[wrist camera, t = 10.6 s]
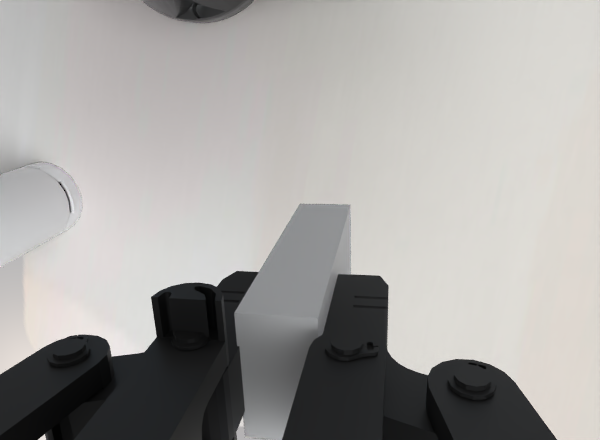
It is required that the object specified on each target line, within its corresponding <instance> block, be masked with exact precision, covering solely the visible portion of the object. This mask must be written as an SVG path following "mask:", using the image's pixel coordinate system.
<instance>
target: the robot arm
mask: <svg viewBox="0 0 600 440" xmlns="http://www.w3.org/2000/svg"><path fill="white" fill-rule="evenodd" d="M142 1H143V2H144V3H145V4H147V5H148V6H149V7H151V8H152V9H154V10H156V11H157V12H159V13H161V14H163V15H165V16H168V17H170V18H173V19H176V20H181V21H187V22H196V23H209V22H216V21H220V20H223V19H226V18H229V17H231V16H233V15H235V14H237V13H239V12H240V11H242V10H243V9H245V8H246V7H247V6H248V5H250V4H251V3H252V2H253V1H254V0H142ZM151 300H152V307H153V313H154V320H155V327H156V334H157V338H156V339H155V340H154V341H153V343H152V344H151V345H150V346H149V348H148V349H147V350H146V351H145V352H144V353H139V354H130V355H122V356H114V357H112V356H111V351H110V346H109V344H108V342H107V340H105V339H103V338H101V337H99V336H93V335H78V336H77V335H74V336H69V337H67V338H65V339H61V340H58V341H56V342H54V343H52V344H49V345H47V346H45V347H43V348H42V349H40V350H39V351H37V352H35V353H34V354H32V355H31V356H29V357H28V358H26V359H24V360H23V361H21V362H20V363H18V364H16V365H15V366H13V367H12V368H10V369H9V370H7V371H5V372H4V373H2V374H0V440H38V439H39V438H40V437H41V436H43V435H44V434H45V436H46V440H237V436H236V431H237V428H238V426H239V424H240V421H241V419H242V416H243V419H244V429H245V437H247V438H258V439H267V440H557V439H556V438H555V436H554V435H553V434H552V432H551V431H550V430H549V428H548V427H547V425H546V424H545V423H544V421H543V420H542V419H541V417H540V416H539V415H538V413H537V412H536V411H535V409H534V408H533V406H532V405H531V404H530V402H529V401H528V400H527V398H526V397H525V396H524V394H523V393H522V391H521V390H520V389H519V387H518V386H517V385H516V383H515V382H514V381H513V380H512V379H511V378H510V377H509V376H508V375H507V374H506V373H505V372H503V371H501V370H499V369H498V368H496V367H494V366H492V365H490V364H486V363H483V362H479V361H475V360H463V359H455V360H450V361H445V362H442V363H440V364H438V365H437V366H435V367H433V368H432V369H431V371H430V373H429V375H425V374H421V373H418V372H415V371H412V370H410V369H407V368H405V367H404V366H402V365H400V364H398V363H397V362H396V361H395V360H394V359H393V358H392V357H391V356H390V354H389V353H388V351H387V330H388V285H387V284H386V282H385V281H384V280H383V279H382V278H381V277H380V276H372V275H351V217H350V205H336V204H300V205H299V206H298V208H297V210H296V211H295V213H294V215H293V216H292V218H291V220H290V221H289V223H288V225H287V226H286V228H285V230H284V231H283V233H282V235H281V236H280V238H279V240H278V241H277V243H276V244H275V246H274V248H273V249H272V251H271V253H270V254H269V256H268V258H267V259H266V261H265V263H264V264H263V266H262V268H261V269H260V271H259V272H244V271H236V272H235V273H233V274H231V275H230V276H228V277H226V278H225V279H223V280H222V281H221V282H220V284H219V285H218V286H217V287H215V286H213V285H211V284H204V283H184V284H180V285H175V286H171V287H168V288H166V289H163V290H161V291H159V292H158V293H156V294H155V295H153V296H152V297H151Z"/></svg>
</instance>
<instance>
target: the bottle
mask: <svg viewBox="0 0 600 440" xmlns="http://www.w3.org/2000/svg"><path fill="white" fill-rule="evenodd" d="M58 182H60V183H61V184H62V186H63V187H64V189H65V190H66V192H67V195H68V197H69V200H70V208H71V212H70V211H69V202H68V199H67V196H66V194H65V191H64V190H63V188H62V187H61V186H60V184H59V183H58ZM81 211H82V197H81V194H80V191H79V189H78V186H77V185H76V183H75V182H74V180H73V179H72V177H71V176H70V175H69V174H67V173H66V172H65V171H64V170H63V169H62V168H59V167H57V166H55V165H53V164H51V163H43V162H39V163H34V164H30V165H27V166H24V167H21V168H19V169H16V170H12V171H9V172H6V173H3V174H0V268H1V267H2V266H4V265H6V264H7V263H9V262H11V261H13V260H15V259H17V258H18V257H20V256H22V255H24V254H25V253H27V252H29V251H31V250H33V249H34V248H36V247H38V246H40V245H41V244H43V243H45V242H47V241H48V240H50V239H52V238H54V237H55V236H57V235H59V234H61V233H63V232H64V231H66V230H68V229H69V228H71V227H73V226H74V225H75V224H76V222H77V221H78V220H79V218H80V215H81Z"/></svg>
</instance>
